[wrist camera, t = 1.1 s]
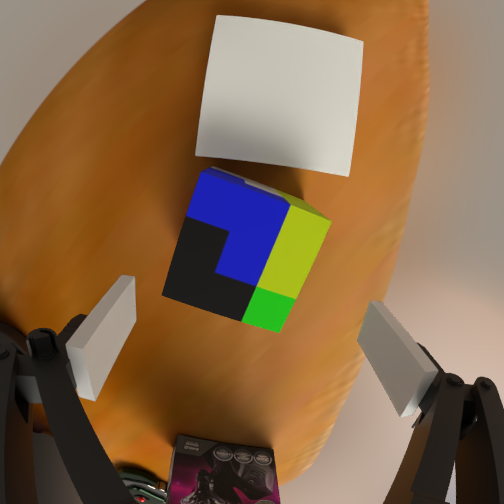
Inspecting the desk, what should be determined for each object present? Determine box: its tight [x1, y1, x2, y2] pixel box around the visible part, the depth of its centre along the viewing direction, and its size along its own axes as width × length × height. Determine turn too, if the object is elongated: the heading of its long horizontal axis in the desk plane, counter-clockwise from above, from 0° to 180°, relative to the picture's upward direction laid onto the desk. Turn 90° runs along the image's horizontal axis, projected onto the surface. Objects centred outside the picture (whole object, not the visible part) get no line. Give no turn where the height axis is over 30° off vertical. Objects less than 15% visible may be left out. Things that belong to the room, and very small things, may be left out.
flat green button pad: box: [116, 468, 168, 504], centre depth 48 cm, size 18×18×5 cm
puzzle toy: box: [162, 166, 332, 333], centre depth 27 cm, size 10×10×10 cm
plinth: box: [195, 15, 363, 177], centre depth 26 cm, size 14×14×4 cm
